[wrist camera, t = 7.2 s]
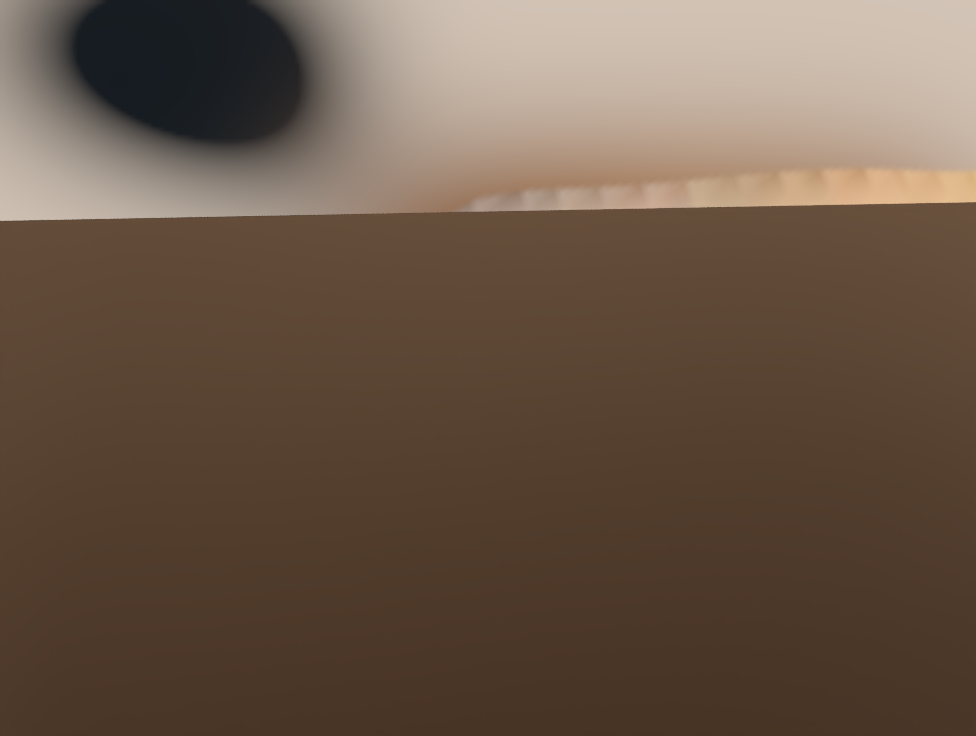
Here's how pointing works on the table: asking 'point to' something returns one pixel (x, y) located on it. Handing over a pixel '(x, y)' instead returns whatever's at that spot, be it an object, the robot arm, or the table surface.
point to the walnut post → (490, 473)
